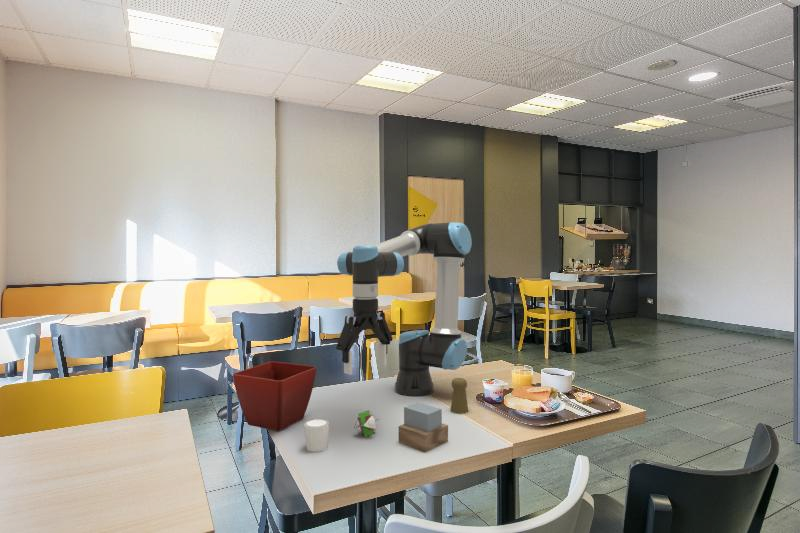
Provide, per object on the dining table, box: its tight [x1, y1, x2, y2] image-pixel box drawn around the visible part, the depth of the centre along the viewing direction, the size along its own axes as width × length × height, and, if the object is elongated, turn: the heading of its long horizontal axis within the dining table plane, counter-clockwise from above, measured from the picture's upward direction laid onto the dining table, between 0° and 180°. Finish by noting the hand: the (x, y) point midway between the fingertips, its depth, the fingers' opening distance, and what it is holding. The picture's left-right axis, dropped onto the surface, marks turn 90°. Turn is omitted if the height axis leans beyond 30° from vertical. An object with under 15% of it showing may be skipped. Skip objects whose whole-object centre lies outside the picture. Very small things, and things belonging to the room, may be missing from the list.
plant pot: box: [232, 361, 317, 432], centre depth 153 cm, size 19×19×17 cm
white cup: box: [303, 418, 330, 453], centre depth 134 cm, size 7×7×7 cm
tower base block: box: [397, 423, 449, 453], centre depth 137 cm, size 10×10×5 cm
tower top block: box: [403, 401, 443, 432], centre depth 137 cm, size 6×9×5 cm, turn 47°
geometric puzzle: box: [353, 410, 380, 438], centre depth 143 cm, size 7×7×8 cm
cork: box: [450, 377, 469, 415], centre depth 163 cm, size 6×6×11 cm
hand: (365, 369), depth 142 cm, fingers open, 13 cm apart
